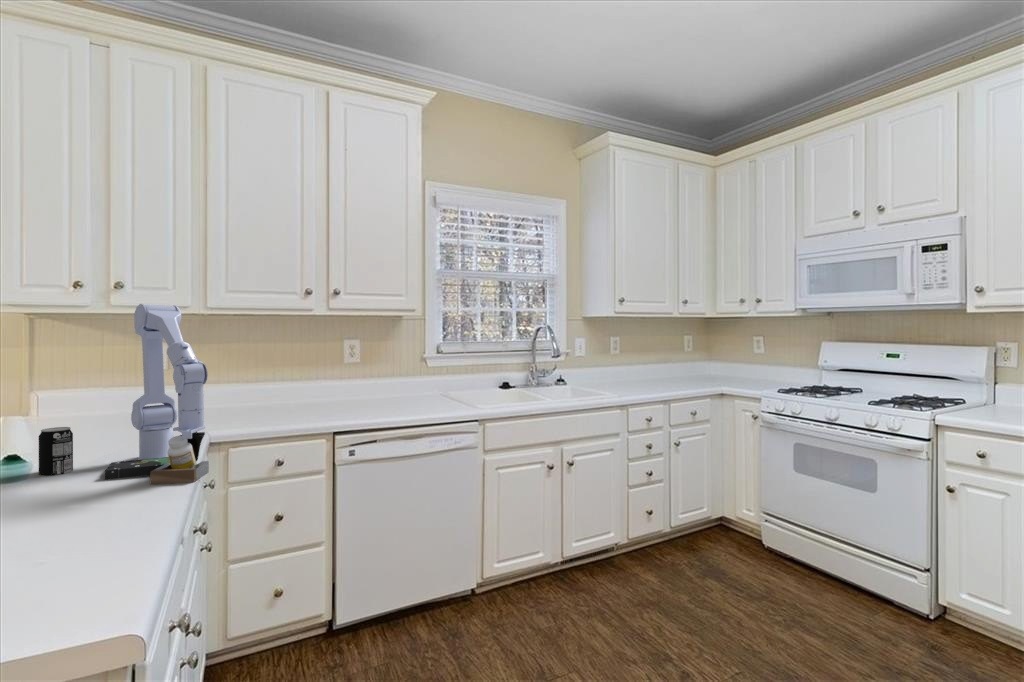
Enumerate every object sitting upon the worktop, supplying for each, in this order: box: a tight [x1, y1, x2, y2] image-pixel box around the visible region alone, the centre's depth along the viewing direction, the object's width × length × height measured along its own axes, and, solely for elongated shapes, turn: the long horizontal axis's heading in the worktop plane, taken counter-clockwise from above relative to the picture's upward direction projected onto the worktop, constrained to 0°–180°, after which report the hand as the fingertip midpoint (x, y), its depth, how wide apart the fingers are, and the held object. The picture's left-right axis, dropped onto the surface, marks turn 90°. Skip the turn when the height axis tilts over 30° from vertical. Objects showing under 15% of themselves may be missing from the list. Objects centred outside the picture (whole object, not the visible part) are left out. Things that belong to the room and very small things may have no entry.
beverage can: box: [38, 426, 74, 477], centre depth 134 cm, size 7×7×12 cm
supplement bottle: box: [168, 434, 198, 469], centre depth 134 cm, size 5×5×10 cm
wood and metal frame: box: [149, 460, 210, 485], centre depth 132 cm, size 10×10×3 cm
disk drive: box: [104, 457, 170, 481], centre depth 137 cm, size 10×3×15 cm
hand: (192, 461), depth 137 cm, fingers closed, pressing on supplement bottle
